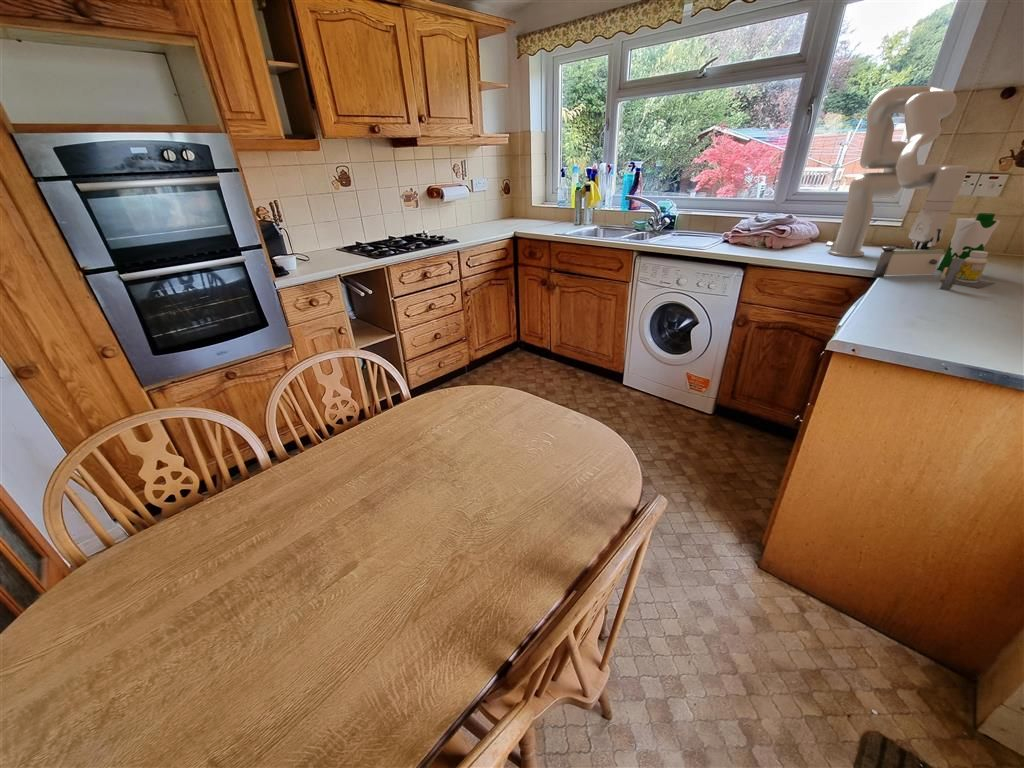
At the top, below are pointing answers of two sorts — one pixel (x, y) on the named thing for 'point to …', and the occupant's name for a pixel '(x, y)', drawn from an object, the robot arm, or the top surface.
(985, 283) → the mat
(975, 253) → the supplement bottle
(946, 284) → the post
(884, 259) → the hinge post
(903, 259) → the gate
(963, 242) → the milk carton
